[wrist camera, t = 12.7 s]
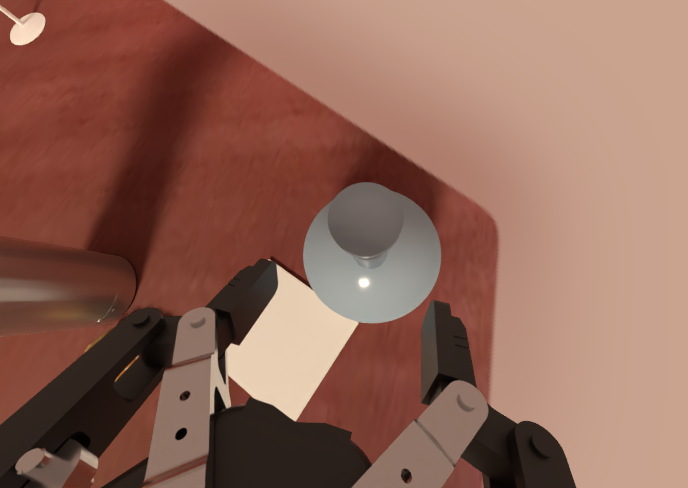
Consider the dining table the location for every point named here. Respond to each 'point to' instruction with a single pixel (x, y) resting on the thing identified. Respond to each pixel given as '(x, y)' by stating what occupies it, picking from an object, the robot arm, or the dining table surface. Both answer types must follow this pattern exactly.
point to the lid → (372, 254)
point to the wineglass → (25, 27)
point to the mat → (289, 347)
